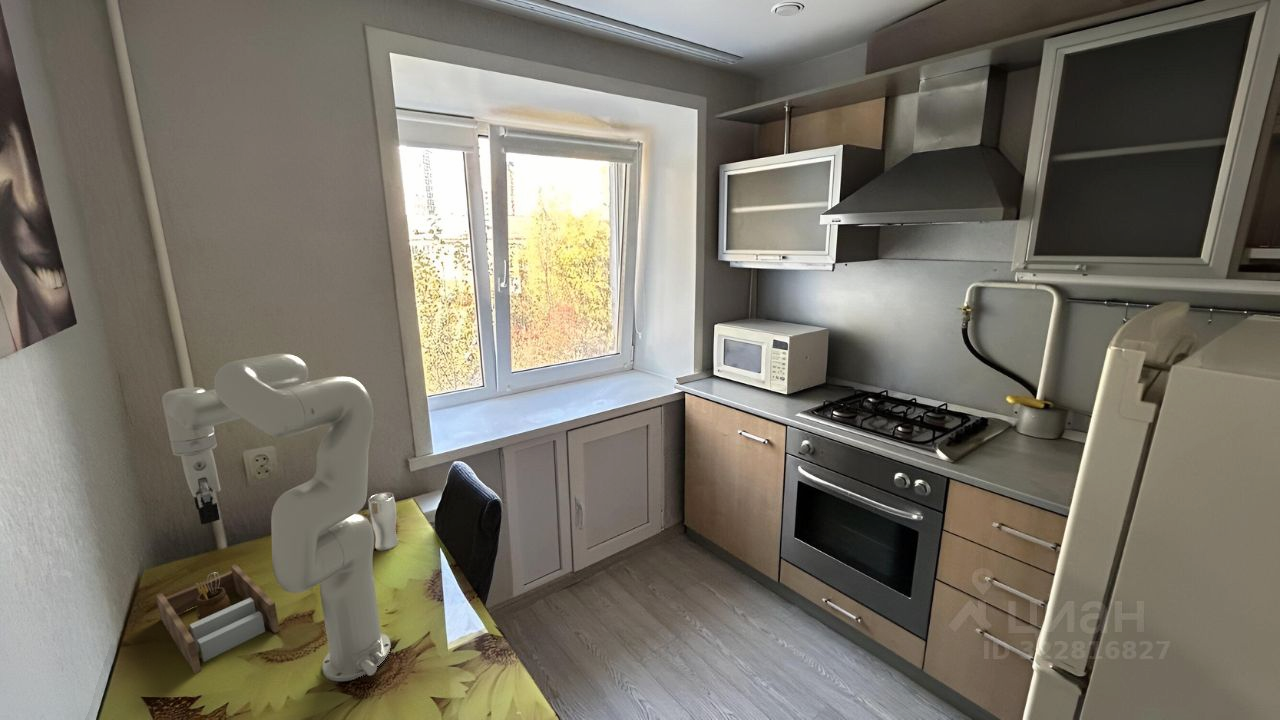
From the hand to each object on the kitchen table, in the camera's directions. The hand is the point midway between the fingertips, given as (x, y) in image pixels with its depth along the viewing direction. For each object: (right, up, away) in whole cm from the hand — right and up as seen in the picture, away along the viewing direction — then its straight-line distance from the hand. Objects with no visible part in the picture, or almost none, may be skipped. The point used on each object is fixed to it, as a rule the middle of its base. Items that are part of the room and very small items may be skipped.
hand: (207, 514), depth 118 cm
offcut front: (+10, -27, -5) cm, 29 cm away
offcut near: (+6, -26, -2) cm, 27 cm away
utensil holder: (0, -26, +2) cm, 26 cm away
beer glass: (+25, -19, +33) cm, 45 cm away
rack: (+2, -26, 0) cm, 26 cm away
